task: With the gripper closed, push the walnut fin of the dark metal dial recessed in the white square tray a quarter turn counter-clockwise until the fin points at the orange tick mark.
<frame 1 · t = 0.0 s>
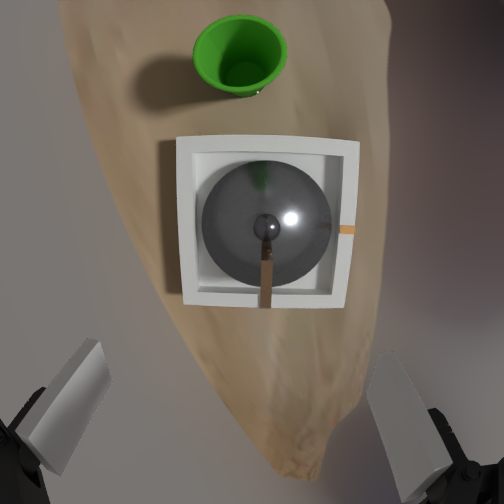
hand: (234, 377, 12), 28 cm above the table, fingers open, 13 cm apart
cup: (245, 80, 33), on the table
dial: (267, 231, 33), point 6 cm above the table, hinge at 0.0°
white square tray: (266, 220, 38), on the table
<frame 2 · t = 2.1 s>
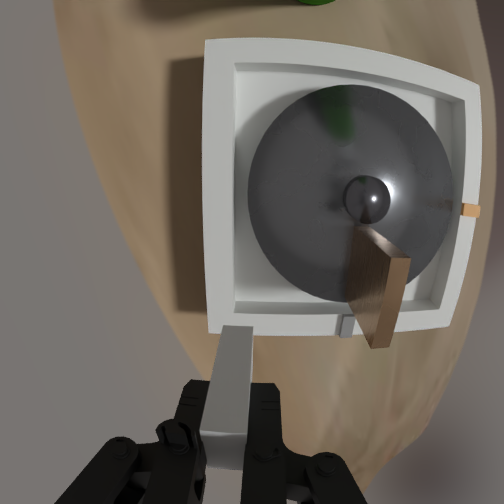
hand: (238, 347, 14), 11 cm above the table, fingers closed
dial: (377, 204, 16), point 6 cm above the table, hinge at 0.0°
white square tray: (350, 191, 22), on the table
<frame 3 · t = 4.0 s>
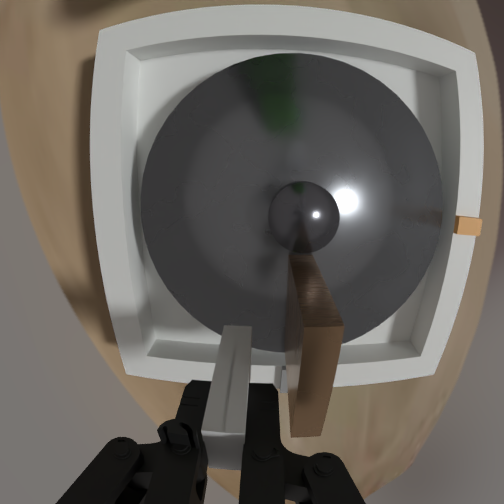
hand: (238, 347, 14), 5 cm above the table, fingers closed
dial: (309, 225, 11), point 6 cm above the table, hinge at 1.1°, touching gripper
white square tray: (294, 203, 17), on the table
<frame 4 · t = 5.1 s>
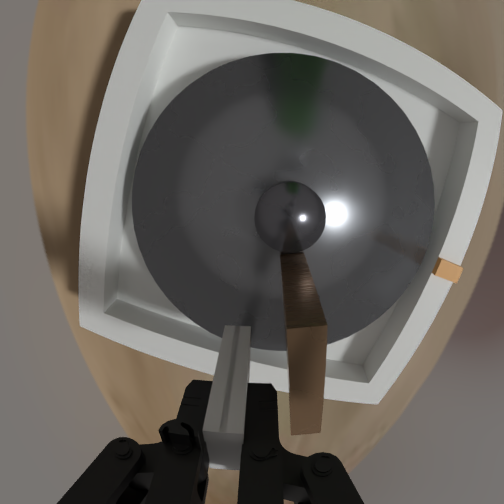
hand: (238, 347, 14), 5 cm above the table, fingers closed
dial: (293, 225, 11), point 6 cm above the table, hinge at 22.2°, touching gripper
white square tray: (285, 202, 17), on the table
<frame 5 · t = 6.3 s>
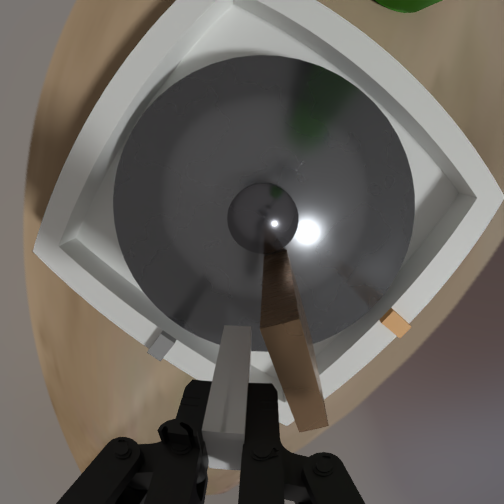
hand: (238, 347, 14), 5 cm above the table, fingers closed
dial: (262, 226, 12), point 6 cm above the table, hinge at 55.2°, touching gripper
white square tray: (264, 204, 17), on the table
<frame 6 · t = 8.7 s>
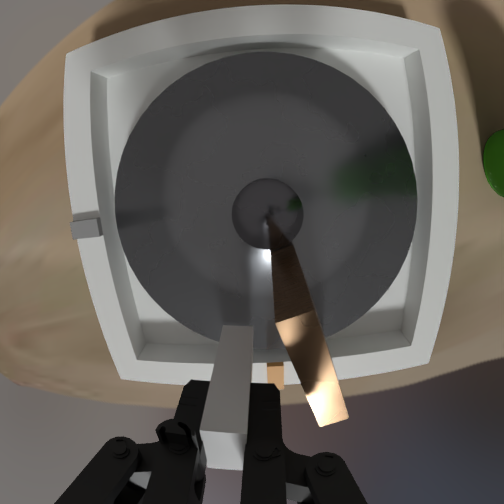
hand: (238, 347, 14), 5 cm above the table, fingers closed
cup: (500, 163, 15), on the table
dial: (268, 221, 11), point 6 cm above the table, hinge at 107.6°
white square tray: (266, 201, 17), on the table
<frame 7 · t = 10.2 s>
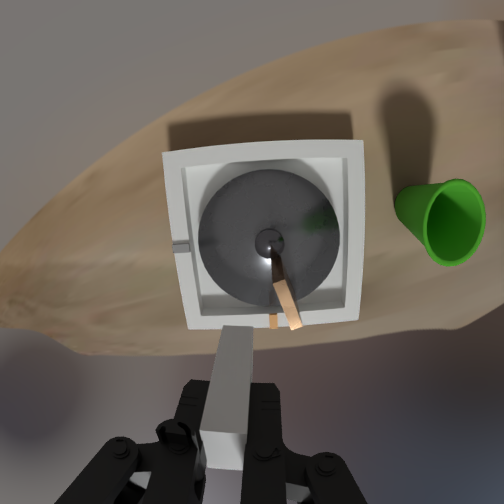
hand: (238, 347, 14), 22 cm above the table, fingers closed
cup: (409, 205, 34), on the table
dial: (270, 248, 30), point 6 cm above the table, hinge at 107.6°
white square tray: (268, 234, 35), on the table
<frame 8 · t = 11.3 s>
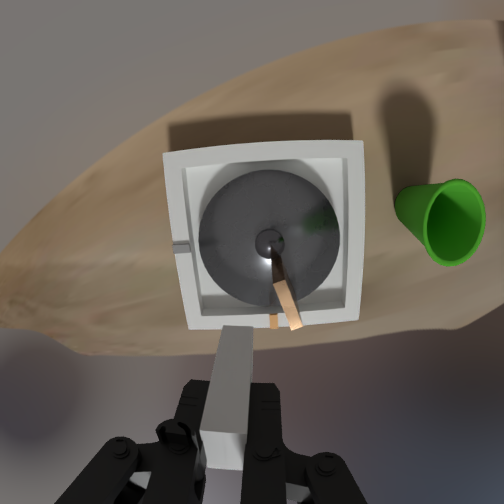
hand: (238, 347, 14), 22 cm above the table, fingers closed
cup: (409, 205, 34), on the table
dial: (270, 249, 30), point 6 cm above the table, hinge at 107.6°
white square tray: (269, 234, 35), on the table
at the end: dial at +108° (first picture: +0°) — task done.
